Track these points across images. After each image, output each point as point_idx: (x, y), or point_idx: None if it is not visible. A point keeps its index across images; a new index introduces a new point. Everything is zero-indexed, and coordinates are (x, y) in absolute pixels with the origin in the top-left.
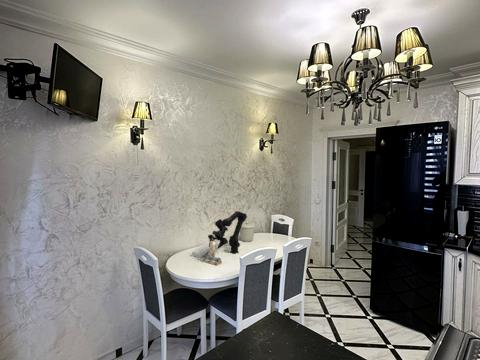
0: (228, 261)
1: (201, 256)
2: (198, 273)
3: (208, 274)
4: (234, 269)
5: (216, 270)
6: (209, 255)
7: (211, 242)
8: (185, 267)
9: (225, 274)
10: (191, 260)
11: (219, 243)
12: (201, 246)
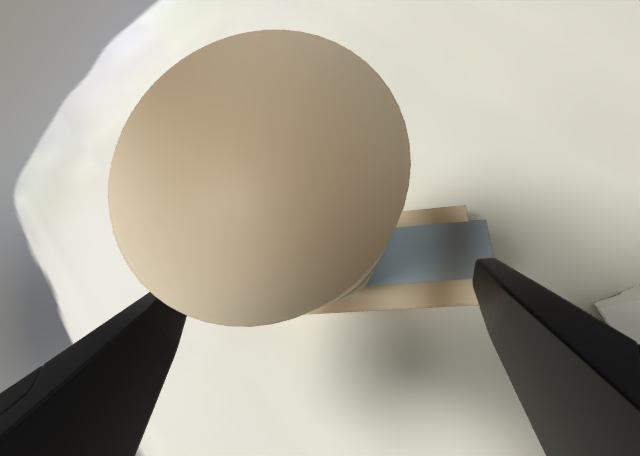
0: (218, 426)
1: (605, 303)
2: (253, 17)
3: (178, 60)
4: (57, 282)
5: None
6: (408, 269)
7: (214, 65)
8: (443, 3)
9: (71, 151)
10: (581, 145)
11: (24, 413)
12: None
